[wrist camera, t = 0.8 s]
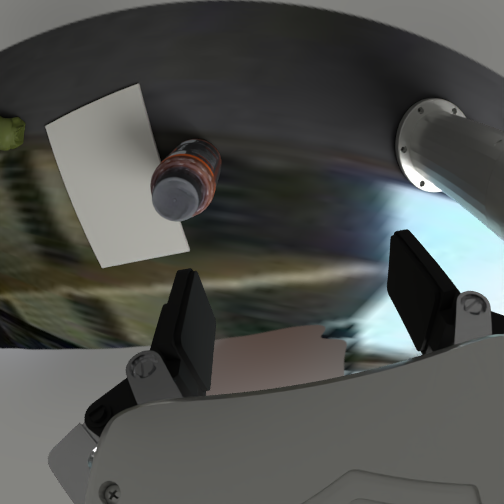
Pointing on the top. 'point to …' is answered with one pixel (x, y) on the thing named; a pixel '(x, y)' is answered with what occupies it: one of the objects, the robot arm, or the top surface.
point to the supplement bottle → (186, 180)
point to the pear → (11, 133)
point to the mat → (114, 178)
